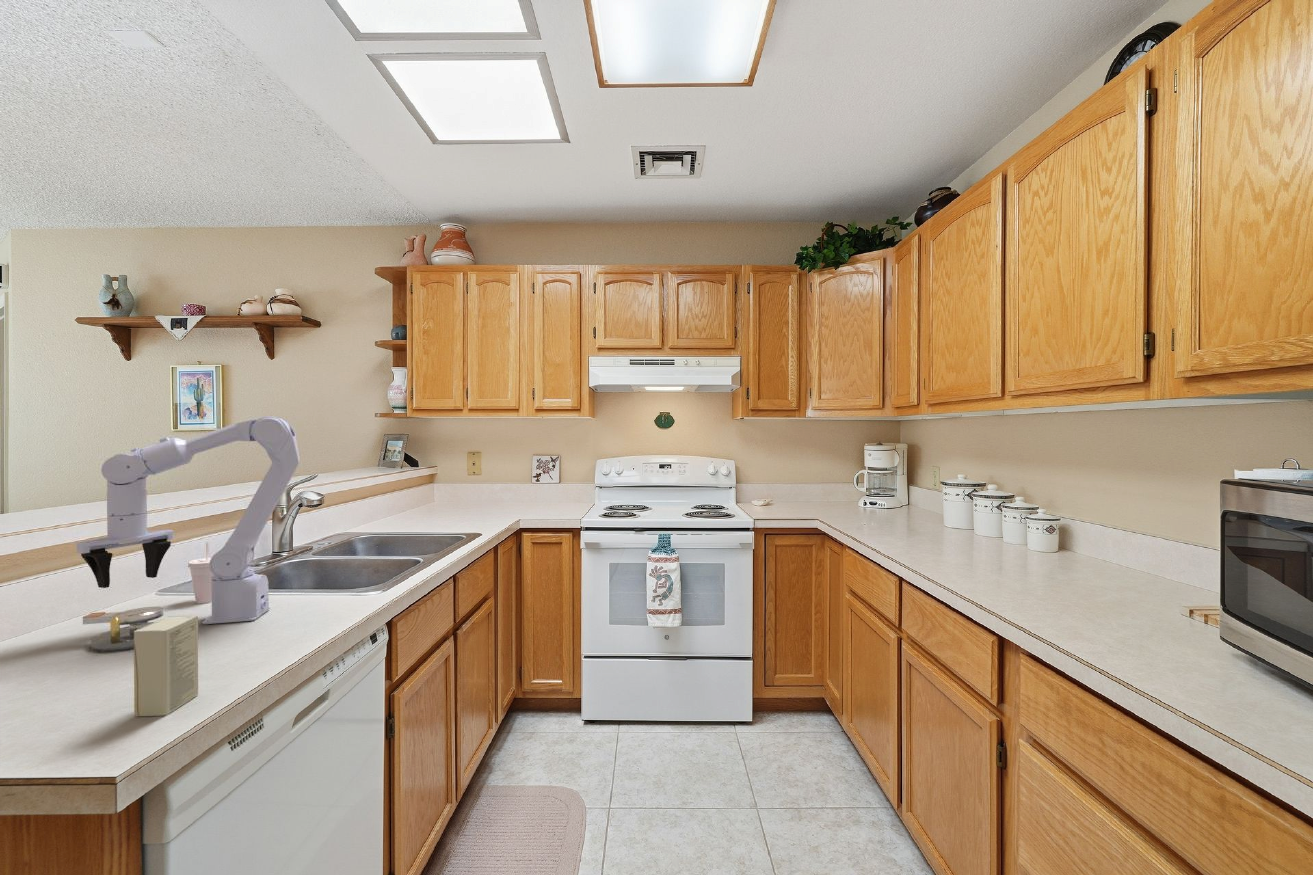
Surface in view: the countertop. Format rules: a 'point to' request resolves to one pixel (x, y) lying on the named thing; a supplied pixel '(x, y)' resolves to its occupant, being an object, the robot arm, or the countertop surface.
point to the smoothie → (201, 578)
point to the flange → (126, 616)
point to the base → (116, 637)
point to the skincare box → (165, 665)
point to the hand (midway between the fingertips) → (128, 581)
